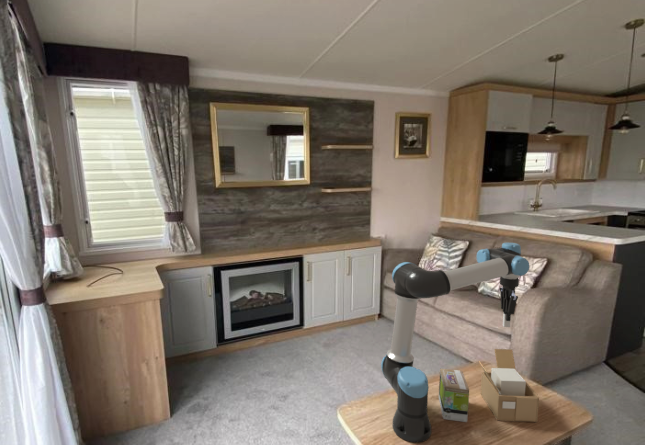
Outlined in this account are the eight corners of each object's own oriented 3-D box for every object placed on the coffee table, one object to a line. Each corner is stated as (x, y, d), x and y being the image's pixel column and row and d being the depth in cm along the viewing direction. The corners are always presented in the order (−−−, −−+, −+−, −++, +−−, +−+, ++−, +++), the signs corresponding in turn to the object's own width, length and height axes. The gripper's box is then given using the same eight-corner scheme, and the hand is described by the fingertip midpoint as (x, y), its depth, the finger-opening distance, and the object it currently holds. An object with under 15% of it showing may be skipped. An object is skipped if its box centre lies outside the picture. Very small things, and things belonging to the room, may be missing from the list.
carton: (497, 421, 142) (499, 388, 140) (480, 393, 160) (482, 364, 158) (539, 423, 141) (541, 389, 139) (516, 395, 159) (519, 365, 157)
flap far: (498, 372, 157) (497, 372, 158) (516, 372, 157) (515, 372, 157) (494, 348, 161) (494, 348, 162) (512, 349, 161) (511, 349, 161)
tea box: (468, 422, 141) (469, 389, 139) (442, 419, 143) (444, 386, 141) (461, 400, 156) (462, 369, 154) (438, 397, 158) (439, 367, 156)
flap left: (498, 391, 143) (498, 392, 143) (490, 379, 152) (489, 379, 152) (487, 371, 142) (486, 372, 142) (479, 360, 151) (478, 361, 151)
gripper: (525, 281, 148) (521, 332, 151) (511, 273, 161) (508, 320, 164) (507, 280, 149) (504, 332, 152) (494, 272, 162) (492, 320, 165)
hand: (506, 326), depth 158 cm, fingers closed
